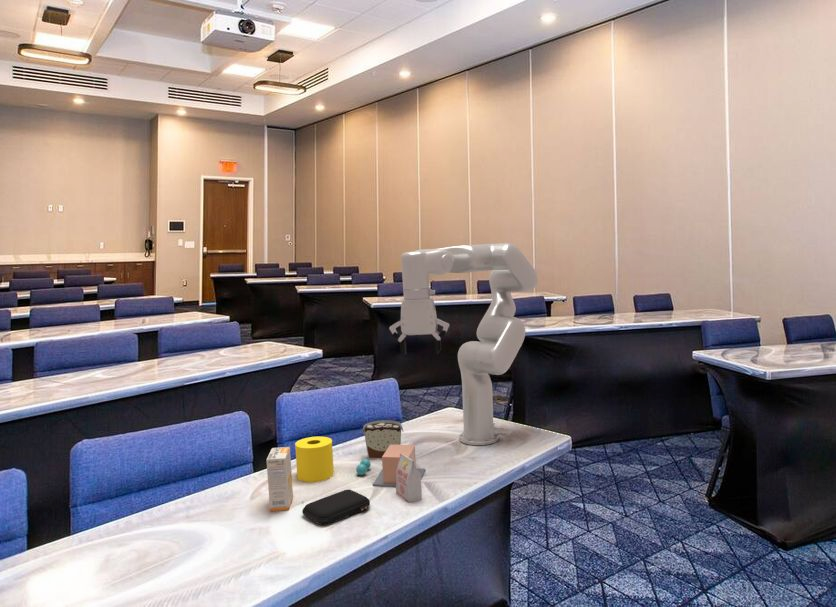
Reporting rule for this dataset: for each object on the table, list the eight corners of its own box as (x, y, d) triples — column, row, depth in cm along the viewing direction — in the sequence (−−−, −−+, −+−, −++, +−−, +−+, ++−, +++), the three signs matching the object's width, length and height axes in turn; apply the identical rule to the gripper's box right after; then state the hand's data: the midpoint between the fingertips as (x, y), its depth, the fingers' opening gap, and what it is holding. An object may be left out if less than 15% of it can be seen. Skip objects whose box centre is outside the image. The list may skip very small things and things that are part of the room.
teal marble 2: (368, 472, 164) (367, 462, 163) (365, 477, 161) (365, 466, 160) (358, 472, 164) (357, 462, 164) (355, 476, 161) (354, 466, 161)
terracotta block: (416, 469, 163) (414, 444, 163) (409, 483, 153) (408, 457, 153) (391, 468, 164) (390, 444, 164) (383, 482, 155) (382, 457, 154)
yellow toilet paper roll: (302, 485, 157) (300, 450, 156) (293, 473, 166) (291, 440, 165) (338, 477, 161) (336, 443, 160) (327, 466, 170) (325, 434, 169)
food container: (406, 451, 180) (405, 419, 179) (404, 458, 174) (403, 425, 173) (367, 451, 181) (365, 420, 180) (363, 458, 175) (361, 426, 174)
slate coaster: (425, 470, 164) (425, 468, 164) (417, 487, 152) (417, 485, 152) (383, 469, 166) (383, 467, 166) (372, 486, 154) (372, 484, 154)
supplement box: (274, 497, 149) (271, 447, 148) (293, 496, 150) (290, 446, 149) (269, 512, 141) (265, 458, 140) (289, 510, 141) (286, 457, 140)
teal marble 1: (372, 467, 168) (371, 457, 167) (369, 471, 165) (368, 461, 164) (361, 467, 168) (361, 457, 168) (359, 471, 165) (358, 460, 165)
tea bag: (409, 489, 151) (407, 451, 150) (421, 498, 145) (420, 459, 144) (396, 493, 149) (394, 454, 148) (408, 502, 143) (406, 462, 142)
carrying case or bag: (324, 531, 131) (376, 510, 141) (324, 518, 130) (376, 497, 140) (299, 517, 138) (350, 497, 148) (298, 504, 138) (349, 485, 148)
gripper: (448, 292, 170) (452, 350, 172) (389, 295, 172) (394, 352, 174) (445, 294, 162) (449, 355, 164) (384, 298, 165) (388, 357, 167)
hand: (421, 354), depth 169 cm, fingers open, 9 cm apart
